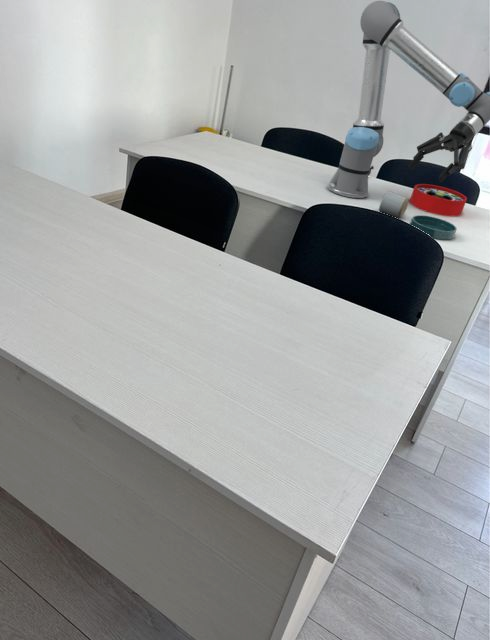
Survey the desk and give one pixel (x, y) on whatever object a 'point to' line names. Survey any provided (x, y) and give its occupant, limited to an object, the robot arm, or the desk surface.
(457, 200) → the toy clock
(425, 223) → the bowl
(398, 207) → the grey cylinder
